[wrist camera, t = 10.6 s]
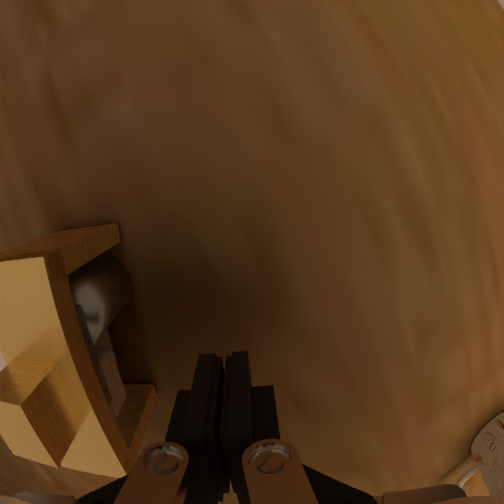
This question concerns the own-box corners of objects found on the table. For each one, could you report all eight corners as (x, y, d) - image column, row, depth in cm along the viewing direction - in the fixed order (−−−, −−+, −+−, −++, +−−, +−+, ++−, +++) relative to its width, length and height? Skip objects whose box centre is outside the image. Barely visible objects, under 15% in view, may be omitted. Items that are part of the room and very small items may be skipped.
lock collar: (157, 396, 18) (116, 523, 9) (102, 394, 18) (44, 503, 9) (117, 222, 15) (-11, 284, 6) (56, 231, 15) (-74, 288, 6)
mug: (528, 408, 21) (574, 457, 12) (454, 485, 24) (484, 541, 14) (505, 392, 20) (562, 454, 10) (418, 482, 22) (450, 552, 13)
